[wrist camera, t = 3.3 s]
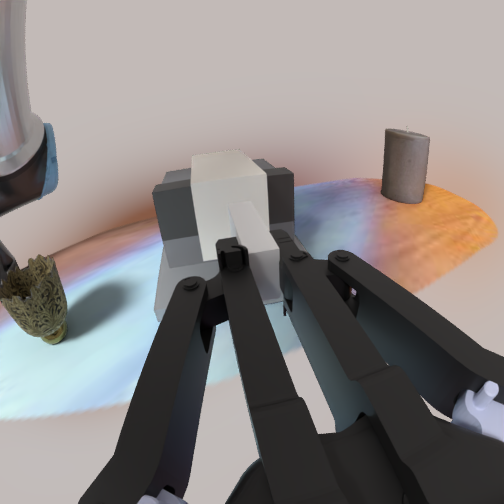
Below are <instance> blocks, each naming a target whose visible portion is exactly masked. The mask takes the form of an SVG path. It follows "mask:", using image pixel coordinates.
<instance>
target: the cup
mask: <svg viewBox="0 0 504 504" xmlns="http://www.w3.org/2000/svg"><path fill="white" fill-rule="evenodd" d="M28 267H29V268H28ZM28 267H27V268H24V269H23V271H22V270H20V269H19V267H18V266H16V267H15V272H14V271H12V270H8V272H7V280H6V281H5V280H3V279H1V285H2V287H3V288H0V301H1V303H2V304H3V306H4V307H5V308H6V310H7V311H8V313H9V314H10V315H11V317H12V318H13V319H14V320H15V322H16V323H17V324H18V325H19V326H20V327H21V328H22V329H23V330H24V331H25V332H26V333H28V334H29V335H32V336H34V337H41V339H42V340H43V341H44V342H45V343H47V344H56V343H58V342H60V341H61V340H62V339H63V338H64V337H65V336H66V334H67V323H66V321H65V318H66V314H67V301H66V297H65V293H64V290H63V287H62V284H61V281H60V278H59V275H58V271H57V268H56V265H55V261H54V259H53V257H52V260H51V258H50V257H49V255H47V260H46V259H45V257H43V256H41V255H38V256H37V257H36V259H35V260H33V259H31V258H30V259H29V260H28Z"/></svg>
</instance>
